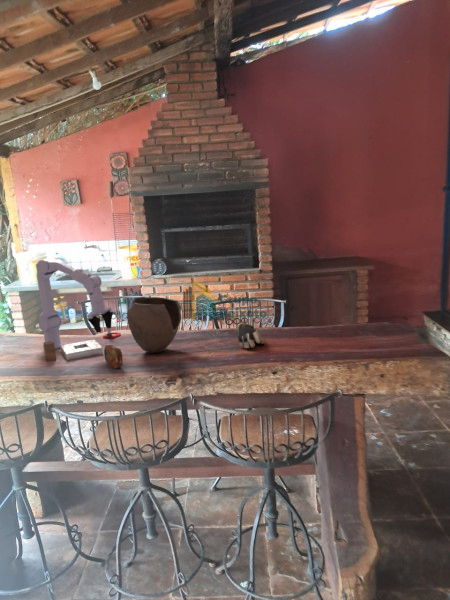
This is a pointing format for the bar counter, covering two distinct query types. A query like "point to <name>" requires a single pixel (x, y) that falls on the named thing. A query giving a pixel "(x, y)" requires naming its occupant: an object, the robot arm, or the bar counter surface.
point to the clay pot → (154, 322)
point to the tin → (113, 356)
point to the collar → (81, 349)
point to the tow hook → (109, 334)
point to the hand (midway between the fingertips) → (104, 330)
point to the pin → (49, 351)
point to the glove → (248, 335)
